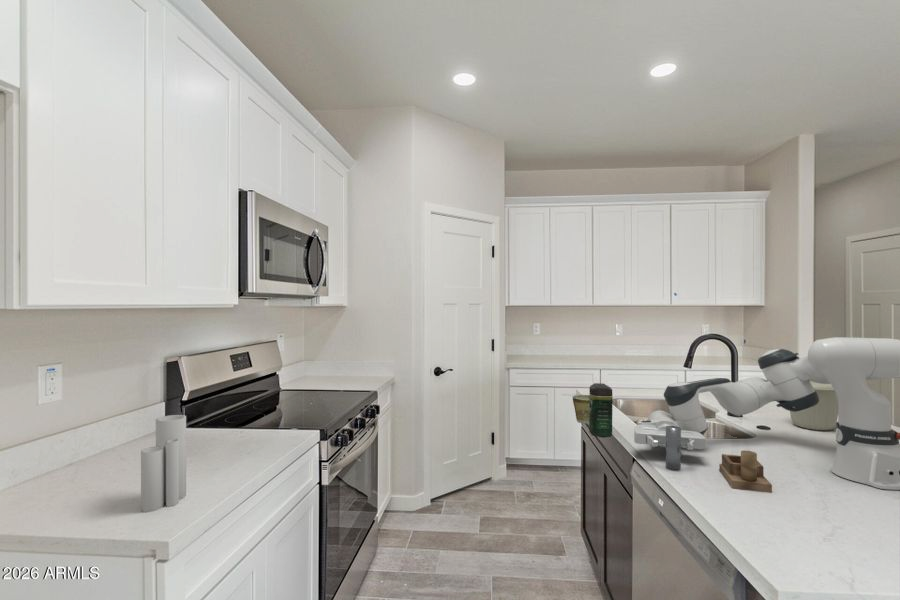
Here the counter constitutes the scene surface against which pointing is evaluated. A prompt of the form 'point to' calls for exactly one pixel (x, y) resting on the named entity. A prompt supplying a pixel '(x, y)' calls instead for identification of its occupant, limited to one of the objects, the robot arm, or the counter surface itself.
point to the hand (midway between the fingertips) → (672, 445)
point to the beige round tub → (819, 410)
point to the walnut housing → (744, 472)
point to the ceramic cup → (582, 408)
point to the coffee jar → (600, 410)
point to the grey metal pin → (673, 448)
